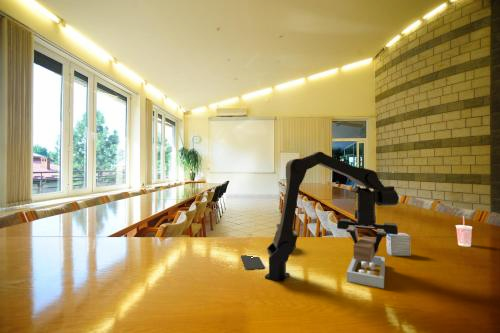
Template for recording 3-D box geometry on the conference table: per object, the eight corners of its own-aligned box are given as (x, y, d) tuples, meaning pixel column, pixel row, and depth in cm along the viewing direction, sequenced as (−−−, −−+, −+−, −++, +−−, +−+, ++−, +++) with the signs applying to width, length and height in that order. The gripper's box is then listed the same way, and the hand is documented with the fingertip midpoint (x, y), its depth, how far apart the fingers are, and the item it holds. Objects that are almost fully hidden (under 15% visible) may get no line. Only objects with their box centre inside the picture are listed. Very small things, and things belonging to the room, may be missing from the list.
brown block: (370, 262, 79) (370, 247, 80) (353, 258, 82) (353, 245, 82) (378, 250, 91) (378, 238, 92) (363, 248, 94) (363, 236, 95)
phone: (245, 269, 89) (240, 255, 104) (245, 271, 89) (240, 257, 104) (265, 267, 91) (257, 254, 105) (265, 270, 91) (257, 256, 105)
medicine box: (405, 253, 108) (405, 232, 108) (411, 256, 104) (410, 235, 104) (386, 252, 109) (385, 232, 109) (391, 256, 104) (390, 235, 105)
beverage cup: (453, 244, 121) (452, 215, 122) (460, 242, 124) (459, 214, 124) (468, 247, 116) (467, 217, 116) (475, 246, 118) (474, 216, 119)
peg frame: (383, 288, 75) (383, 278, 75) (346, 281, 80) (346, 271, 80) (384, 265, 94) (384, 257, 94) (354, 260, 99) (354, 253, 99)
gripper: (396, 205, 90) (397, 248, 89) (341, 202, 99) (342, 242, 99) (397, 208, 80) (398, 258, 80) (336, 205, 89) (337, 249, 89)
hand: (366, 251), depth 87 cm, fingers closed on brown block, 5 cm apart
